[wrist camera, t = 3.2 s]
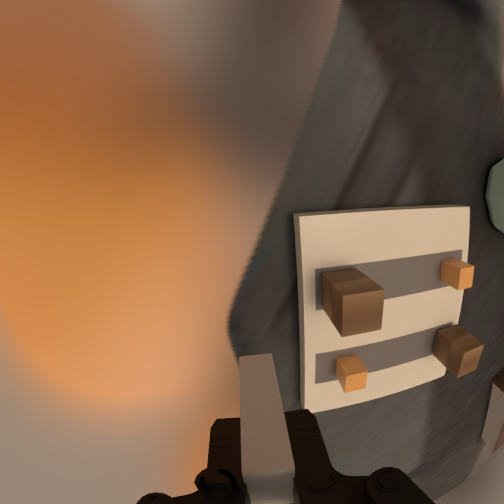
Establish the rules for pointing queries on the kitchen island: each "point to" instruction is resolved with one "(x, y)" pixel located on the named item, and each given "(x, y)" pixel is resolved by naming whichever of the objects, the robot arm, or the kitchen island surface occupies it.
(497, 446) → the book
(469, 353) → the tab
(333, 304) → the tab
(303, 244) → the switch board
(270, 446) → the robot arm
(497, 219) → the water bottle
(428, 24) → the kitchen island surface
